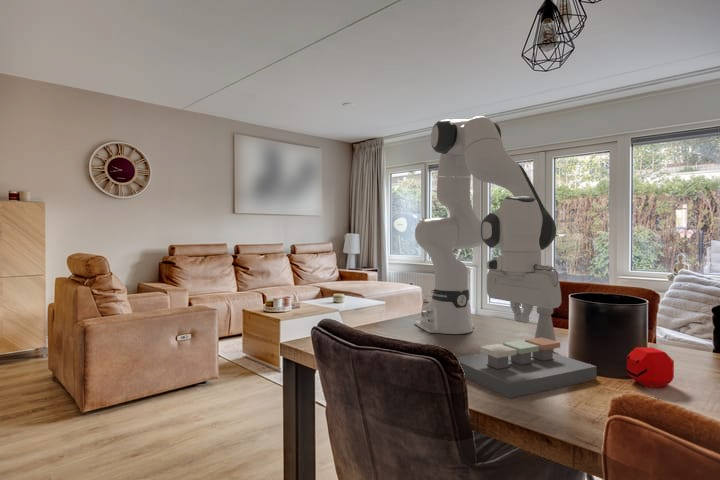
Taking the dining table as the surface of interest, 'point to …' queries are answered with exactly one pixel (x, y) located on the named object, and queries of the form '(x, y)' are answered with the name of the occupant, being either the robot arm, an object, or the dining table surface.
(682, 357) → the dining table surface
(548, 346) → the terracotta button
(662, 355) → the ball
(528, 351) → the sage button
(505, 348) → the cream button
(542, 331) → the salt shaker
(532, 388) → the panel
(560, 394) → the dining table surface
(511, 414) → the dining table surface
